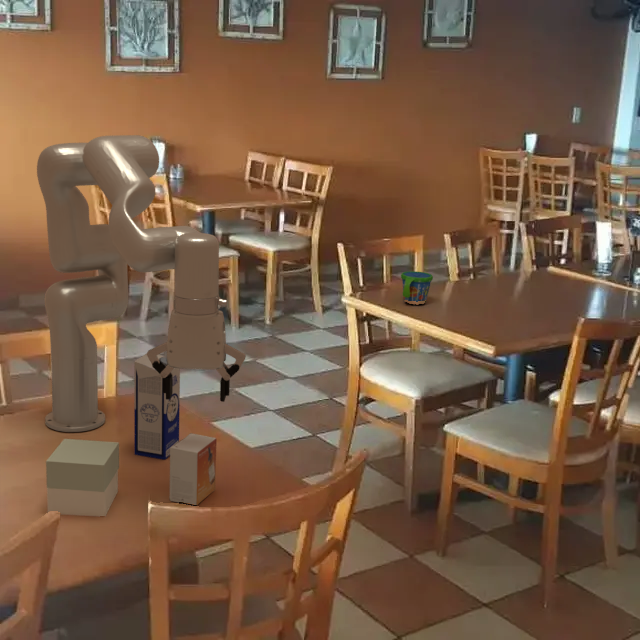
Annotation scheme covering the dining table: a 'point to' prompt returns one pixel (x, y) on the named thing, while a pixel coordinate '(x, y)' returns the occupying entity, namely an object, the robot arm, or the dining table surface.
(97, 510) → the tower bottom
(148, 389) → the milk carton
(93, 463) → the tower top
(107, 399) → the dining table surface
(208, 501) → the dining table surface
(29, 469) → the dining table surface
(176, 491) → the small box
